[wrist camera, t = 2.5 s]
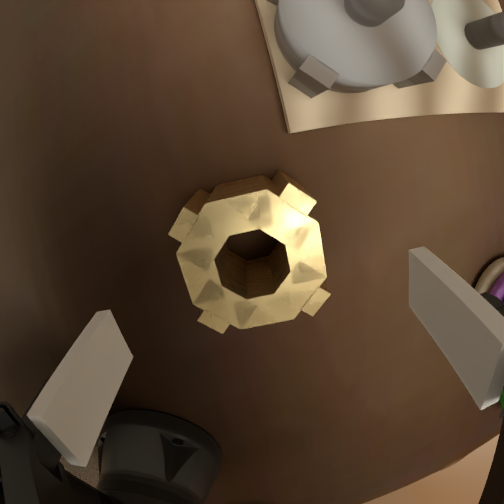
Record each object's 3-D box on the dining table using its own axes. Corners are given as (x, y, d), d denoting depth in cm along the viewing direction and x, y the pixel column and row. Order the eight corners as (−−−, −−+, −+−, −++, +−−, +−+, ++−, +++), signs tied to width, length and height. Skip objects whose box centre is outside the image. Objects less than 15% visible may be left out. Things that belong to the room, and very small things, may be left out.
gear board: (288, 133, 21) (312, 133, 13) (246, -26, 17) (244, -95, 8) (515, 112, 19) (586, 119, 11) (481, -16, 15) (540, -40, 7)
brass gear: (212, 292, 25) (203, 337, 20) (183, 192, 23) (161, 212, 17) (315, 271, 25) (332, 311, 19) (296, 166, 22) (312, 178, 16)
